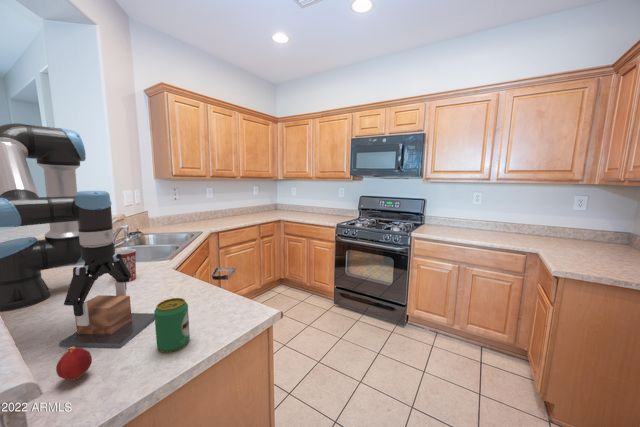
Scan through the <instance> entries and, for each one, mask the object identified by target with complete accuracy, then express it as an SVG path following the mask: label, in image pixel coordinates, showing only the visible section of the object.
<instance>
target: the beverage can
mask: <svg viewBox="0 0 640 427" xmlns="http://www.w3.org/2000/svg"><path fill="white" fill-rule="evenodd" d="M153 313H154V315H155V320H154V325H155V340H156V347H157V348H158V350H159V351H160V352H161V353H166V354H168V353H173V352H177V351H179V350H181V349H182V348H185V346H187V344H188V343H189V340H190V338H191V335H190V320H189V319H190V317H189V305H188V303H187V301H186V299H185V298H183V297H182V298H181V297H174V298H173V297H172V298H167V299H165V300H162V301H160V302H159V303H158V304H156V308H155V309H154V311H153Z"/></svg>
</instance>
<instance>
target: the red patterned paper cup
mask: <svg viewBox="0 0 640 427" xmlns="http://www.w3.org/2000/svg"><path fill="white" fill-rule="evenodd" d="M115 254H121V255H122V260H123V262H124V263H125V265H126V267H127V269H128V270H129V272H130V274H131V277H130V278H129V279H130V280H129V281H128V282H127V283H130V282H133V281H134V280H136V279H137V267H136V266H137V264H136V263H137V249H136V248H135V249H134V248H122V249H117V250H115ZM112 264H113V263H112ZM113 265H114V264H113ZM116 282H119V281H117V280H116V279H115V283H116Z"/></svg>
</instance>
